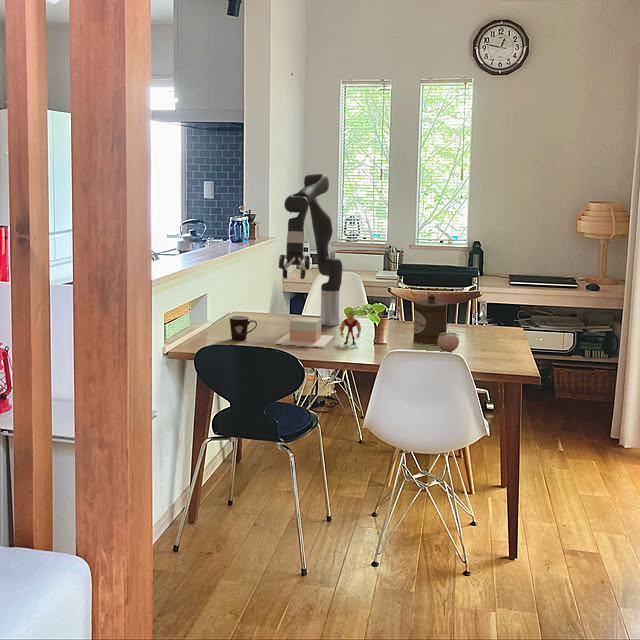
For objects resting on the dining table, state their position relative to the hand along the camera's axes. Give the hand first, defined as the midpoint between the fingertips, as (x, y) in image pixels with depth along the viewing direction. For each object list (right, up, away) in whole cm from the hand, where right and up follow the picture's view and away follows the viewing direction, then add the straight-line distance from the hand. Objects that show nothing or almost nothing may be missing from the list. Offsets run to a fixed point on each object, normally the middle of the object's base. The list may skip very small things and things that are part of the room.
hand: (293, 278), depth 358 cm
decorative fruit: (+67, -33, -10) cm, 75 cm away
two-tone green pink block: (+5, -28, +7) cm, 29 cm away
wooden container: (+62, -28, +12) cm, 69 cm away
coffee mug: (-24, -27, +7) cm, 37 cm away
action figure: (+25, -29, +4) cm, 39 cm away
